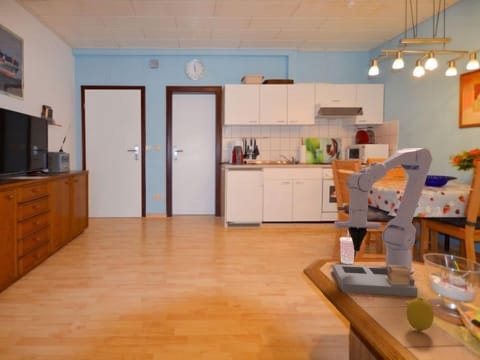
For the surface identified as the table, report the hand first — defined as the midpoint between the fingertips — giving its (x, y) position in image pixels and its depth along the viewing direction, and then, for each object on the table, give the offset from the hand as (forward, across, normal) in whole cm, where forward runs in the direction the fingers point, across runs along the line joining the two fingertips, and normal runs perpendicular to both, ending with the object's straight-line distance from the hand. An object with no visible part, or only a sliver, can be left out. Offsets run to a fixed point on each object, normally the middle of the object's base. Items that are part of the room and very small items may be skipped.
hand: (356, 250), depth 119 cm
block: (+7, +11, -8) cm, 15 cm away
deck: (+9, +4, -3) cm, 11 cm away
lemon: (+10, +6, -36) cm, 38 cm away
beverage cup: (+10, +1, +19) cm, 21 cm away
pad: (+7, +11, -8) cm, 15 cm away
